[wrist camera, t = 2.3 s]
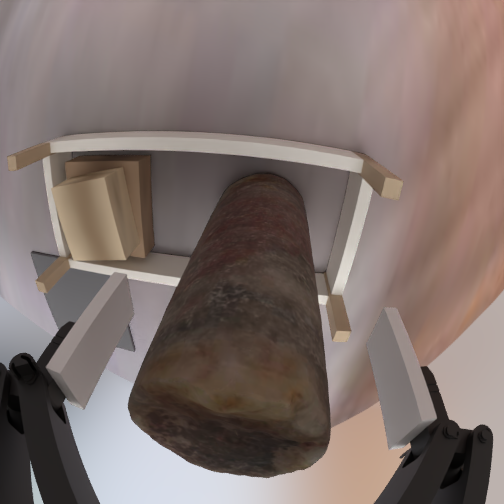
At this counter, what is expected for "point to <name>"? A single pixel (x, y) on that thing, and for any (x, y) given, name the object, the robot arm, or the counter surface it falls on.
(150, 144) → the rack
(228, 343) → the rusty brown cylinder
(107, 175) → the offcut upper
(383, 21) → the counter surface
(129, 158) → the offcut lower
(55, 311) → the mat
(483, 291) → the counter surface
